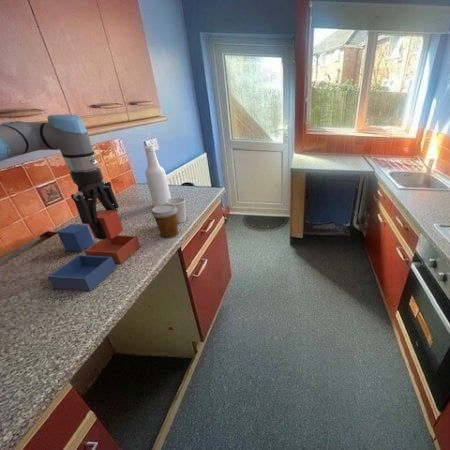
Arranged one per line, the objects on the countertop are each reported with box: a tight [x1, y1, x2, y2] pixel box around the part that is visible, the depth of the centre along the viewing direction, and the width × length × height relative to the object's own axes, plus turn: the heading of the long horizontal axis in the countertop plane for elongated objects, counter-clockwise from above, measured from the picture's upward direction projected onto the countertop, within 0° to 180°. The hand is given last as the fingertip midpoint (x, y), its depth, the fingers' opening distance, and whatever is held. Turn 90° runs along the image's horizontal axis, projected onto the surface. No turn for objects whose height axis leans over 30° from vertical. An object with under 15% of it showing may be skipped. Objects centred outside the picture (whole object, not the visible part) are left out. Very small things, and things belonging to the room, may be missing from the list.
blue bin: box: [47, 254, 117, 292], centre depth 79 cm, size 11×11×5 cm
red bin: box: [84, 234, 141, 264], centre depth 91 cm, size 11×11×5 cm
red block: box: [88, 209, 124, 239], centre depth 86 cm, size 6×6×8 cm
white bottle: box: [144, 145, 172, 208], centre depth 124 cm, size 9×9×30 cm
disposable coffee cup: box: [150, 204, 179, 238], centre depth 103 cm, size 10×10×12 cm
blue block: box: [56, 223, 95, 253], centre depth 93 cm, size 6×6×8 cm
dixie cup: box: [165, 196, 187, 224], centre depth 114 cm, size 8×8×10 cm
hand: (109, 233), depth 88 cm, fingers closed on red block, 6 cm apart
